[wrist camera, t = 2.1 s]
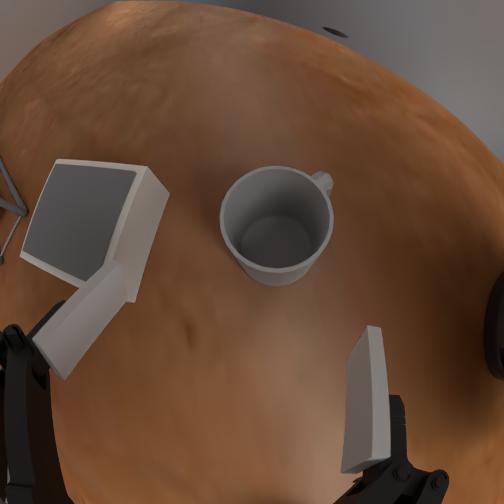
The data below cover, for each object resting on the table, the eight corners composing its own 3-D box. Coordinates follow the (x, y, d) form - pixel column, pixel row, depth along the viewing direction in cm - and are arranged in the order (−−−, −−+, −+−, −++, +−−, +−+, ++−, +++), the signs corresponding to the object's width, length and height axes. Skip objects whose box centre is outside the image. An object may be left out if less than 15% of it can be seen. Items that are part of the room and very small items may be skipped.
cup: (222, 250, 26) (196, 218, 17) (293, 181, 27) (299, 126, 18) (277, 304, 24) (279, 298, 16) (347, 227, 25) (378, 187, 17)
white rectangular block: (170, 193, 28) (145, 164, 21) (135, 302, 25) (98, 297, 19) (83, 179, 30) (55, 157, 23) (52, 266, 27) (17, 255, 21)
